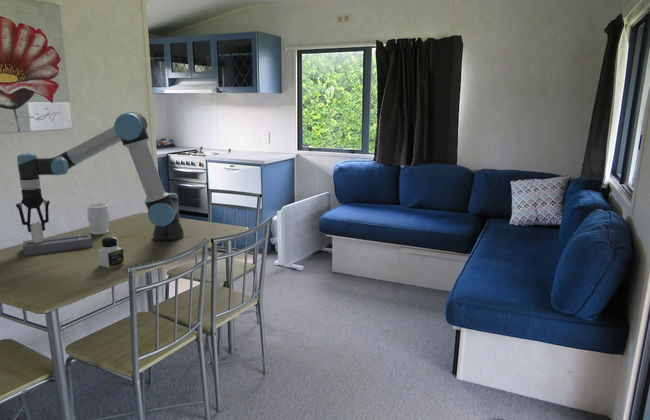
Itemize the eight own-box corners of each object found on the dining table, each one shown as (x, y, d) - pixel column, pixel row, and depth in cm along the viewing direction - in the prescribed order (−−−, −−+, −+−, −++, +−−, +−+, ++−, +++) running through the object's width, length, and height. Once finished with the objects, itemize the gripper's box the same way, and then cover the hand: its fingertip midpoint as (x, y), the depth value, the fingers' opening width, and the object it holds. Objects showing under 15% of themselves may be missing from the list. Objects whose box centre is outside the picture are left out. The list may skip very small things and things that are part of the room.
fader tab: (42, 243, 222) (39, 220, 219) (42, 246, 217) (39, 223, 214) (35, 244, 220) (31, 221, 218) (35, 247, 215) (31, 224, 213)
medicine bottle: (109, 268, 197) (106, 241, 194) (99, 265, 200) (96, 238, 198) (124, 263, 203) (122, 237, 200) (114, 260, 206) (111, 234, 204)
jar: (102, 236, 243) (99, 207, 239) (84, 234, 245) (81, 206, 241) (115, 230, 253) (112, 203, 249) (98, 229, 255) (95, 202, 251)
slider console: (90, 240, 235) (89, 232, 234) (92, 246, 225) (91, 238, 224) (24, 249, 221) (23, 240, 220) (23, 255, 211) (22, 246, 210)
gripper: (51, 185, 219) (57, 233, 225) (10, 188, 211) (17, 238, 217) (51, 188, 213) (57, 237, 219) (9, 191, 205) (16, 242, 210)
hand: (37, 237), depth 218 cm, fingers closed on fader tab, 3 cm apart
